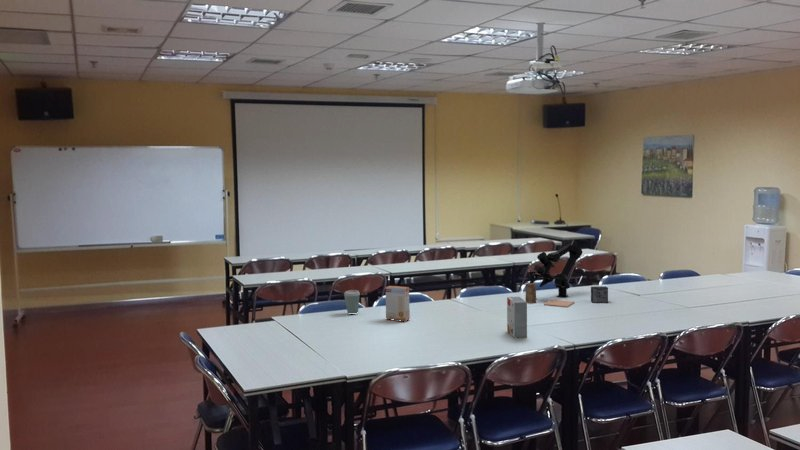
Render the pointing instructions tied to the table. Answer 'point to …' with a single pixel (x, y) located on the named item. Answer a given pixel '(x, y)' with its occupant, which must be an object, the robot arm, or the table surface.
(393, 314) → the cracker box
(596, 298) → the small box
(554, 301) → the terracotta mat
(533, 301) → the walnut block
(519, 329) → the hard drive box
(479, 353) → the table surface
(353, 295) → the disposable coffee cup
